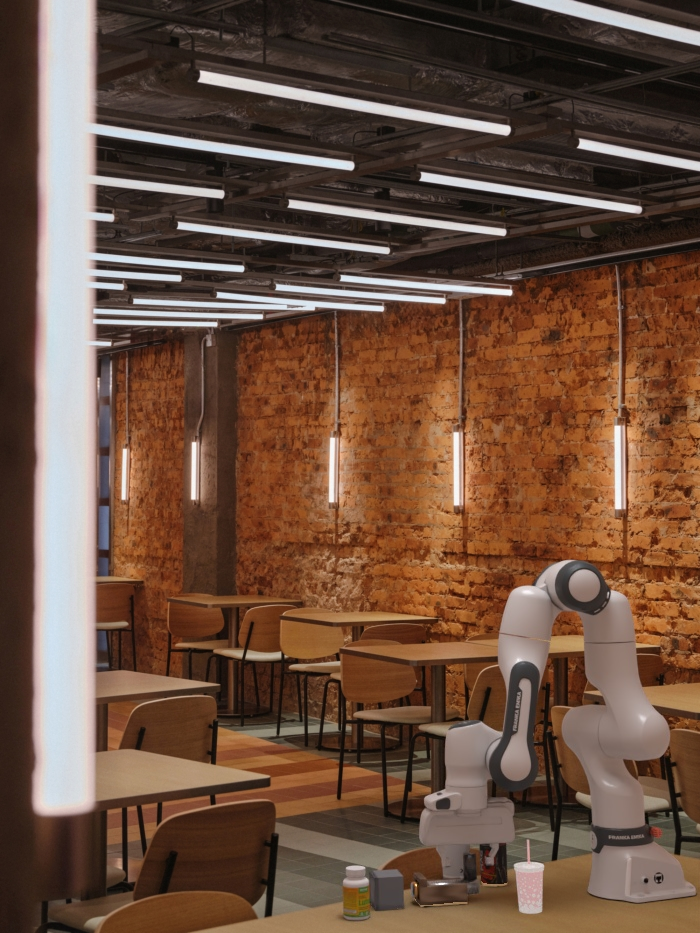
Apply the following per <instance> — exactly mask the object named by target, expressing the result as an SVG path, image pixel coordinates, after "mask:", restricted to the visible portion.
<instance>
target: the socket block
mask: <svg viewBox="0 0 700 933" xmlns="http://www.w3.org/2000/svg"><path fill="white" fill-rule="evenodd" d="M368 880H369V888H370V906H371V907H372V908H373V909H374V911H375V912H377V911H379V912H380V911H389V910H391V911H393V910H392V909H394V910H398V909H397V908H404V909H405V896H404V895H405V894H404V889H405V888H404V886H405V885H404V875H403V874H402V873H401V872H400V871H399V869H381V870H380V869H379V870H369V871H368Z"/></svg>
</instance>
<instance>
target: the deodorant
mask: <svg viewBox="0 0 700 933" xmlns="http://www.w3.org/2000/svg"><path fill="white" fill-rule="evenodd" d="M478 845H479V868H480V875H479V876H480V882H481V881H482V882H483V883H487V884H504V883H507V882H508V859H507V858H508V857H507V856H508V855H507V851H508V850H507V843H499V849H498V851H497V853H496V855H495V856H494V865H486V864H485V856H486V855H489V853H490V851H491V849H492V848H491V847H490V844H478ZM508 883H509V882H508Z"/></svg>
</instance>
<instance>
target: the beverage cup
mask: <svg viewBox="0 0 700 933" xmlns="http://www.w3.org/2000/svg"><path fill="white" fill-rule="evenodd" d="M526 849H527V852H526V853H527V861H521V862H520V861H519V862H516V863H514V864H513V869H514V871H515V880H516V889H517V902H518V911H519V912H520V913H523V914H528V915H530V914H531V915H532V914H535V915H536V914H540V913H542V912H543V894H544V893H543V891H544V890H543V886H544V885H543V884H544V882H543V881H544V880H543V878H544V870H545V865H544V863H541V862H536V861H531V857H530V856H531V855H530V854H531V852H530V839H526Z"/></svg>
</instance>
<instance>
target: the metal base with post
mask: <svg viewBox="0 0 700 933" xmlns="http://www.w3.org/2000/svg"><path fill="white" fill-rule="evenodd" d="M477 867H478V866H477V854H476V852H470V853H463V876H464V879H452V880H436V881H427V886H431V885H446V884H461V883H466V884H467V894H468V895H469V896H470V895H479V894H480V881H479V878H478V875H477V874H478V872H477V871H478V869H477ZM410 895H411V898H412V899H414V898H419V882H414V881H411V883H410Z"/></svg>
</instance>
